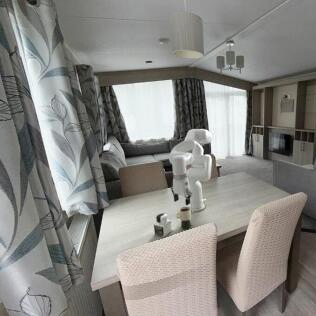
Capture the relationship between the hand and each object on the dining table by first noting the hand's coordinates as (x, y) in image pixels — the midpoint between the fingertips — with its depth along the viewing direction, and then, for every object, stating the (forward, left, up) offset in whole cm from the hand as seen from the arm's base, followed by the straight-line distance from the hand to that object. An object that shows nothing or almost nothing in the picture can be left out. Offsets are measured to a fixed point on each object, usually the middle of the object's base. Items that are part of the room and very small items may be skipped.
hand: (182, 202), depth 120 cm
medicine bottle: (+9, -8, -18) cm, 22 cm away
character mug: (-2, 0, -18) cm, 18 cm away
